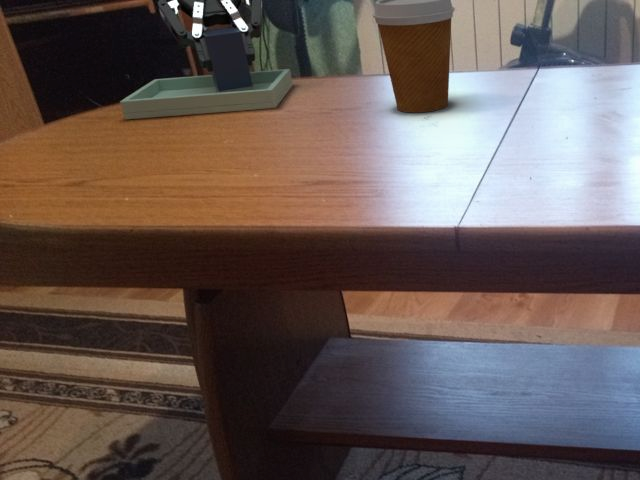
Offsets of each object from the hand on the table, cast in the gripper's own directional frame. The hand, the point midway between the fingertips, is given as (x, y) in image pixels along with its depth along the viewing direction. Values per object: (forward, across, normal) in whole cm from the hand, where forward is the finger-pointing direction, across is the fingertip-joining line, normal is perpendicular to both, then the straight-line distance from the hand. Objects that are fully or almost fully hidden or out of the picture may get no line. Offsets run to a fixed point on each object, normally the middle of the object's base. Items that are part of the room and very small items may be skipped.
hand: (229, 64), depth 97 cm
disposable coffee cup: (+17, -20, +9) cm, 28 cm away
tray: (+1, +3, -6) cm, 6 cm away
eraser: (+2, 0, -4) cm, 4 cm away
